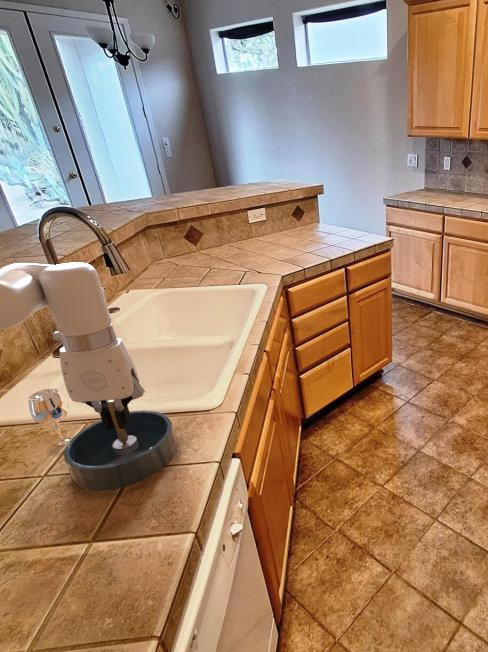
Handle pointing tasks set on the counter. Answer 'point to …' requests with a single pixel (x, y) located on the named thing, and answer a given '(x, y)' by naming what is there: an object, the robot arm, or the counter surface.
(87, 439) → the bowl
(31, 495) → the counter surface
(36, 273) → the robot arm
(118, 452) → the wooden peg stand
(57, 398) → the wineglass
